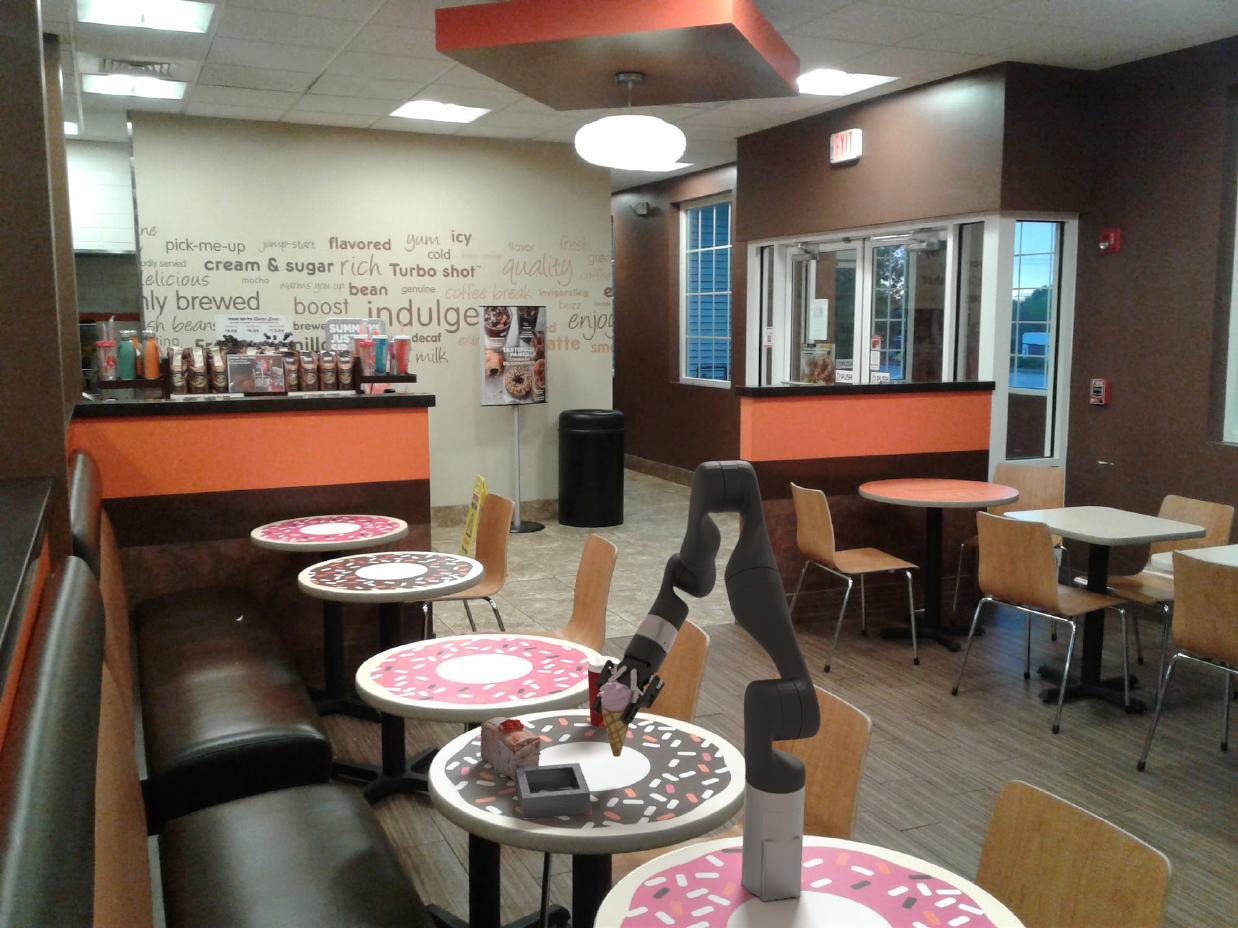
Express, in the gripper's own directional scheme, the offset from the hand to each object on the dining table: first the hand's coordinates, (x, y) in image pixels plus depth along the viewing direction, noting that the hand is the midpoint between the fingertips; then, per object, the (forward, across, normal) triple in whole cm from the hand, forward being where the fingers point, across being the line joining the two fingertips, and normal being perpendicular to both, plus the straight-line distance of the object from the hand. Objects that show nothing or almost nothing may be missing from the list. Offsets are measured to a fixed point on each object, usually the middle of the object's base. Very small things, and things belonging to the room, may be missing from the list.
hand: (609, 717), depth 188 cm
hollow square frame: (+18, -2, 0) cm, 18 cm away
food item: (+16, -18, +2) cm, 24 cm away
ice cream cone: (+5, 0, +7) cm, 8 cm away
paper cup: (-4, -20, +22) cm, 30 cm away
